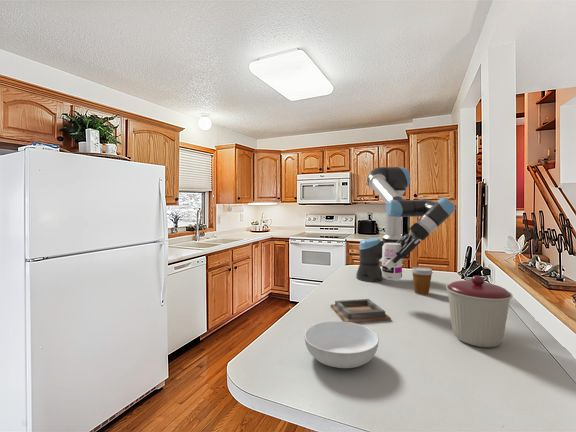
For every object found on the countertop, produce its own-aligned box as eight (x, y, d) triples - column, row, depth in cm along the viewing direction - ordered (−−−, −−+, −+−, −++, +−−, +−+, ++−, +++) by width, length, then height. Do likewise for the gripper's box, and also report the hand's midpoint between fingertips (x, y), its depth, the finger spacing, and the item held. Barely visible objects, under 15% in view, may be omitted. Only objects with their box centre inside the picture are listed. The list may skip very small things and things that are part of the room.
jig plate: (330, 306, 128) (330, 299, 128) (370, 304, 131) (370, 297, 131) (345, 323, 111) (345, 315, 111) (390, 320, 114) (390, 312, 113)
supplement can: (398, 275, 134) (399, 242, 133) (404, 280, 126) (404, 245, 125) (380, 275, 135) (380, 242, 134) (384, 280, 127) (384, 245, 126)
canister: (446, 324, 109) (447, 267, 108) (507, 335, 100) (509, 273, 99) (443, 344, 94) (444, 278, 93) (514, 360, 85) (517, 286, 84)
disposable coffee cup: (435, 296, 143) (436, 271, 142) (415, 295, 143) (416, 271, 142) (427, 290, 152) (427, 266, 152) (408, 290, 152) (408, 266, 152)
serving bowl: (328, 335, 101) (328, 315, 101) (389, 355, 88) (390, 332, 87) (289, 361, 85) (289, 337, 85) (357, 390, 72) (357, 362, 71)
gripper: (439, 237, 118) (397, 277, 120) (419, 231, 139) (384, 265, 141) (426, 224, 118) (384, 264, 120) (408, 220, 139) (372, 254, 141)
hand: (384, 264), depth 130 cm, fingers closed on supplement can, 8 cm apart
